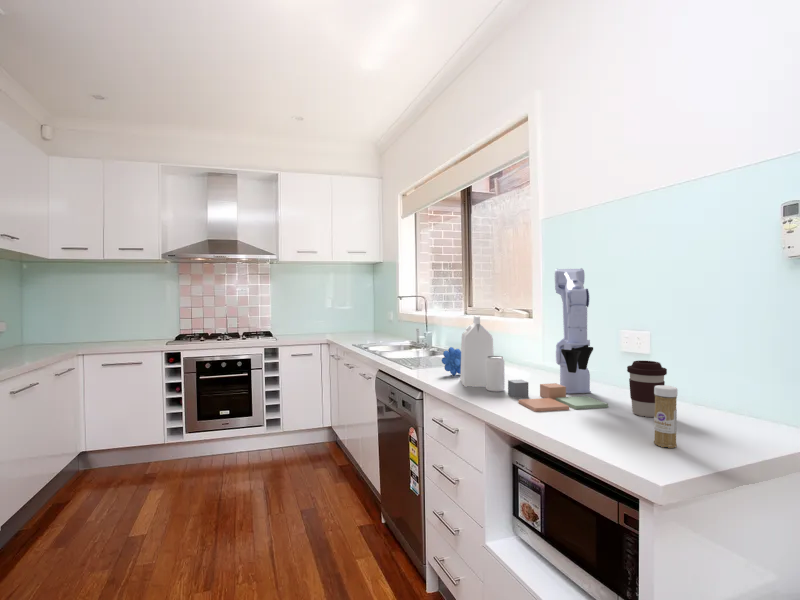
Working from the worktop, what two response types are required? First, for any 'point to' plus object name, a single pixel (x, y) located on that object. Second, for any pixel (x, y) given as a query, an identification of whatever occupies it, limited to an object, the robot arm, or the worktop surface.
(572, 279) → the robot arm
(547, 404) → the terracotta pad
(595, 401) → the sage pad
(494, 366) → the can
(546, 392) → the block
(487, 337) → the milk
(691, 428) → the worktop surface
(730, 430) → the worktop surface
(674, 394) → the sprinkles bottle
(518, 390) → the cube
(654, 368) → the coffee cup
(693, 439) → the worktop surface
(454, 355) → the grapes
